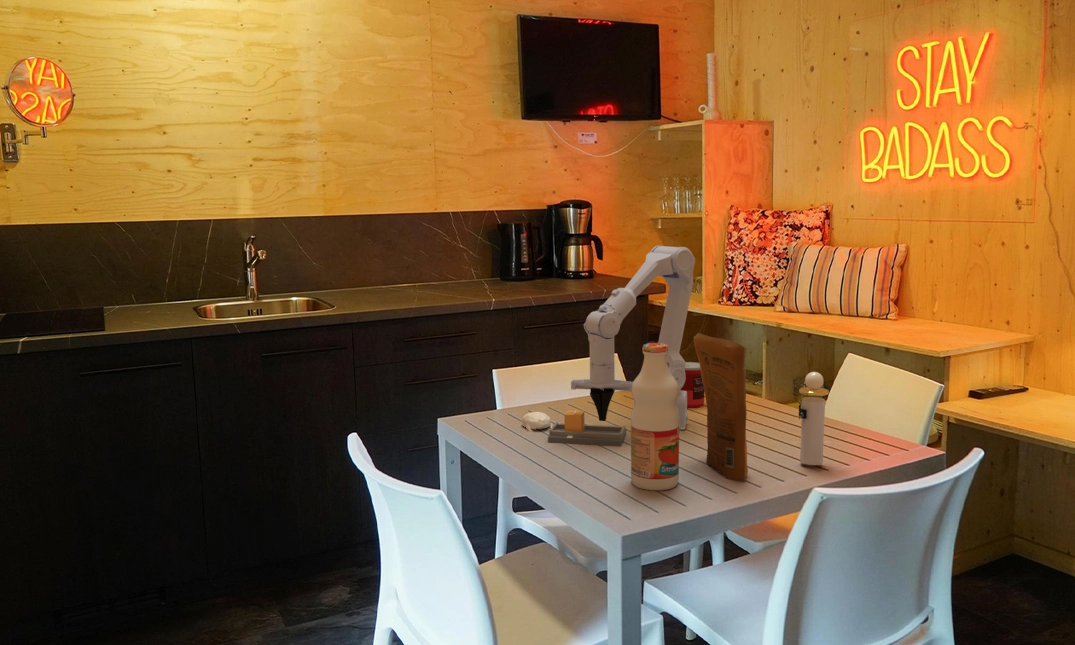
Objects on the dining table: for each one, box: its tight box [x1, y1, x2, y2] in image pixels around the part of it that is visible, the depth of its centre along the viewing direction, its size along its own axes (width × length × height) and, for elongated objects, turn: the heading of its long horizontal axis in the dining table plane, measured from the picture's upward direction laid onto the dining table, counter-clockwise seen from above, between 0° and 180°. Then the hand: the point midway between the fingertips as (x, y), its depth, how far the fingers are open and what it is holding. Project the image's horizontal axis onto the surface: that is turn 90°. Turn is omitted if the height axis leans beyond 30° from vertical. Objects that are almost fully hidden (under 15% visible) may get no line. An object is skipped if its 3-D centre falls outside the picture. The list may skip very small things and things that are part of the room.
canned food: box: [681, 361, 705, 409], centre depth 226 cm, size 8×8×11 cm
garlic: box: [522, 411, 553, 432], centre depth 208 cm, size 8×7×4 cm
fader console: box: [547, 421, 628, 447], centre depth 198 cm, size 17×10×2 cm, turn 76°
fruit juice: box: [630, 342, 680, 491], centre depth 165 cm, size 9×9×28 cm
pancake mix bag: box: [693, 332, 749, 482], centre depth 173 cm, size 7×19×28 cm, turn 13°
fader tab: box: [563, 409, 585, 432], centre depth 199 cm, size 4×4×4 cm
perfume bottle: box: [798, 371, 830, 466], centre depth 175 cm, size 6×6×20 cm
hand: (602, 419), depth 197 cm, fingers closed
